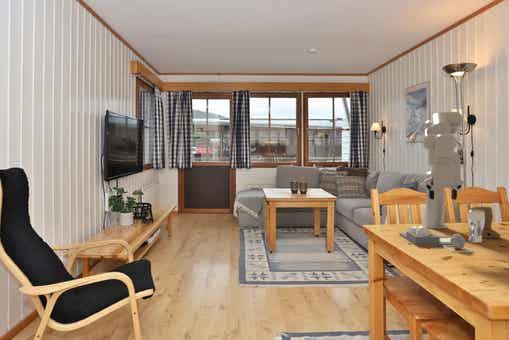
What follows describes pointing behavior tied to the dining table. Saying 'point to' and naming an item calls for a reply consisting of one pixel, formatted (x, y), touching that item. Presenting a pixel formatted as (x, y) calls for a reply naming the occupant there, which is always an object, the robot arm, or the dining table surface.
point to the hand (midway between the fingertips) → (442, 199)
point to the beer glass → (476, 225)
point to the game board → (429, 239)
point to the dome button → (422, 231)
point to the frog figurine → (457, 241)
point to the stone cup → (487, 223)
